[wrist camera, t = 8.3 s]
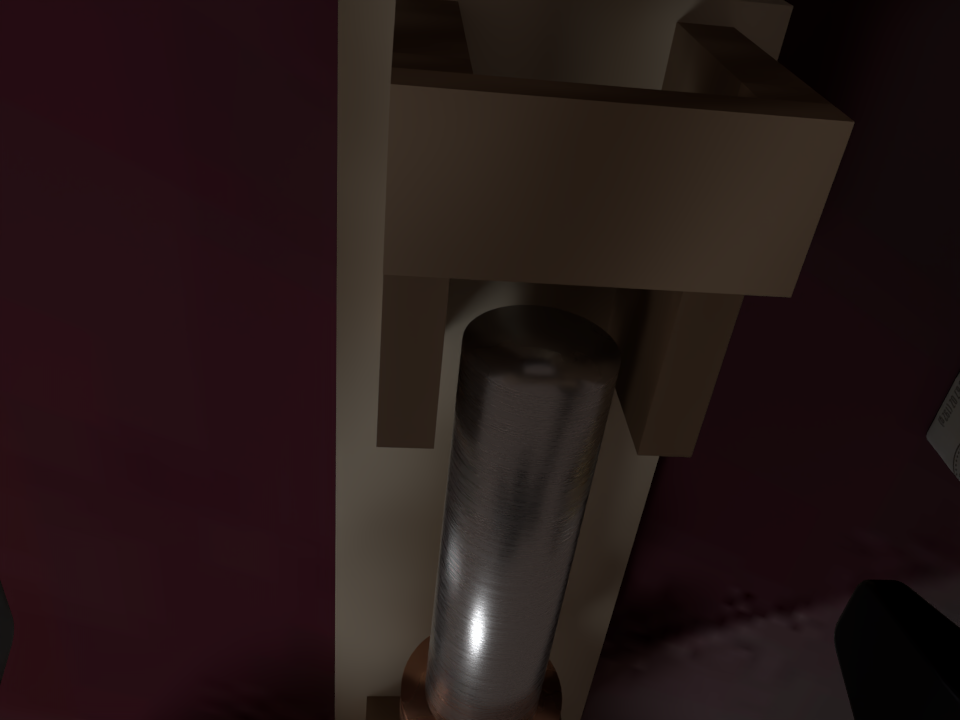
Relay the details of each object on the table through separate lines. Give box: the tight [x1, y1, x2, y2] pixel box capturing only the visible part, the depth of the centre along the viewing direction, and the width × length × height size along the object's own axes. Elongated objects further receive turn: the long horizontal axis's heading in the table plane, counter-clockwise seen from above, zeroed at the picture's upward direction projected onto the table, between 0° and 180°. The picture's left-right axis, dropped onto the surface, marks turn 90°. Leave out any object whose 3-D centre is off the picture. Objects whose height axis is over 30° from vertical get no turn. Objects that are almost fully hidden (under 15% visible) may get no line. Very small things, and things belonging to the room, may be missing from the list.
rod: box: [399, 305, 621, 720], centre depth 23 cm, size 5×19×5 cm, turn 174°
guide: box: [335, 0, 855, 720], centre depth 22 cm, size 9×27×7 cm, turn 174°
